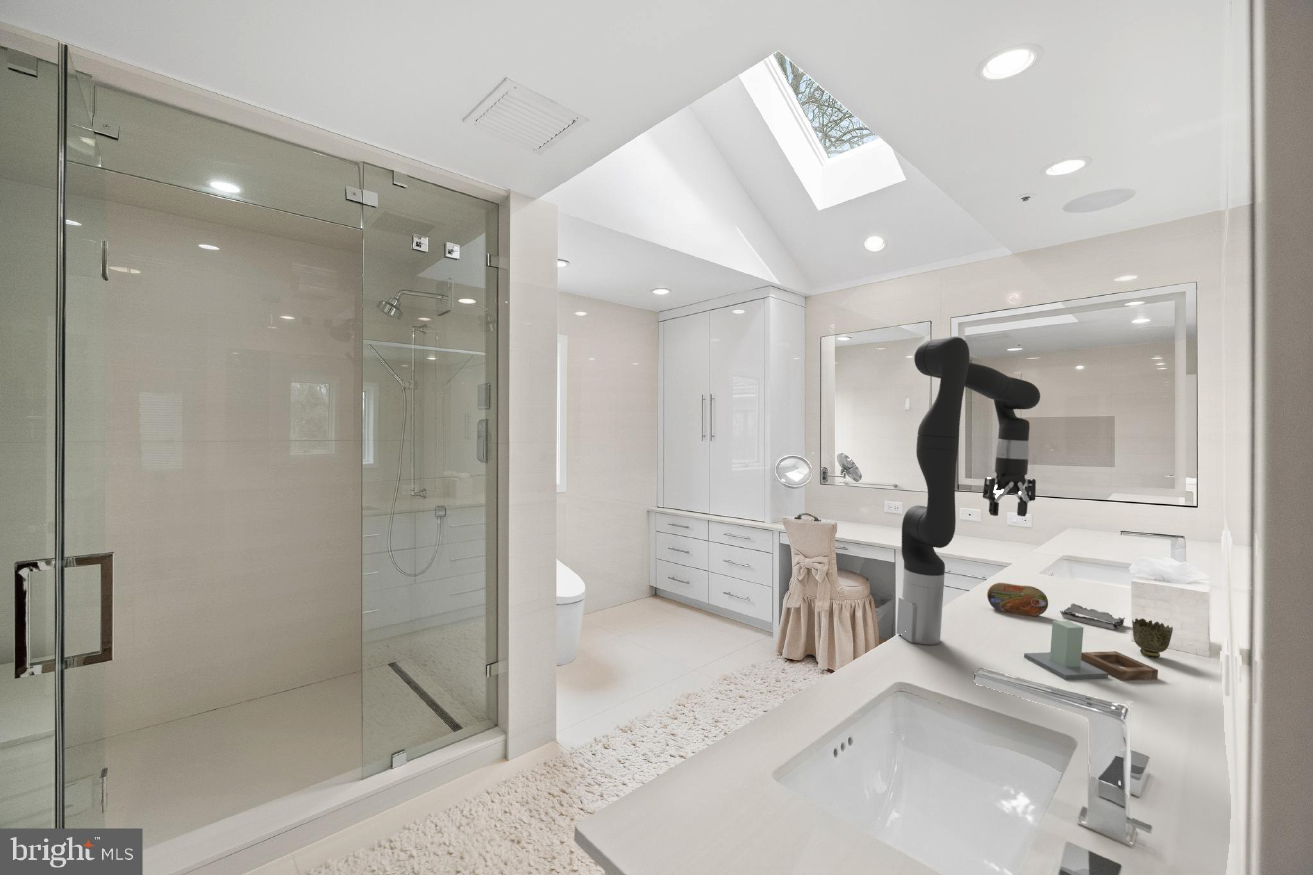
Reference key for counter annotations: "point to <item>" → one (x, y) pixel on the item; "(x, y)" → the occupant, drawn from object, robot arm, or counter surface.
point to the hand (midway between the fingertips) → (1007, 515)
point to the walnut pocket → (1132, 671)
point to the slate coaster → (1066, 672)
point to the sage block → (1066, 643)
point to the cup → (1151, 637)
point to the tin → (1017, 599)
